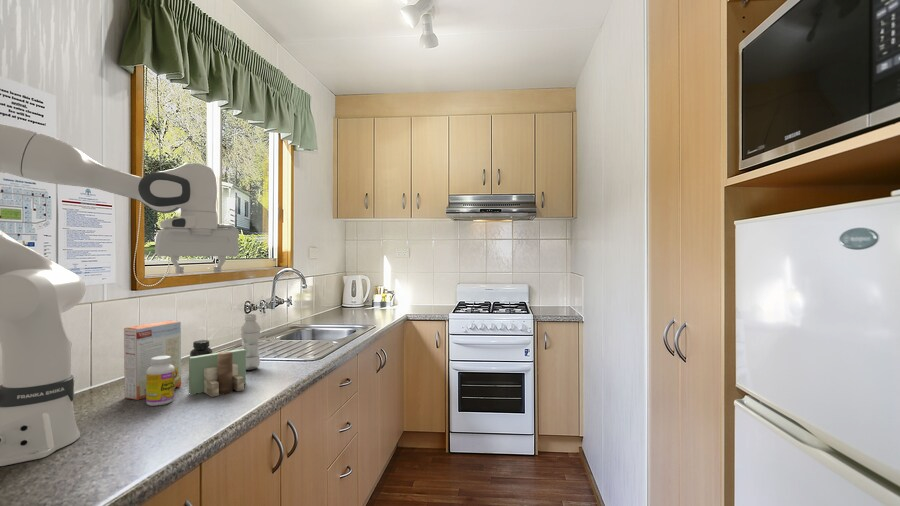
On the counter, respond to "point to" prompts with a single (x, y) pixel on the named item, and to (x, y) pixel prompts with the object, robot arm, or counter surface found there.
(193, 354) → the supplement bottle
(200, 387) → the wall
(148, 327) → the cracker box
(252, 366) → the plastic bottle
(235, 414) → the counter surface
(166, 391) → the supplement bottle
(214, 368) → the block
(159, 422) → the counter surface
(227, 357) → the dowel
